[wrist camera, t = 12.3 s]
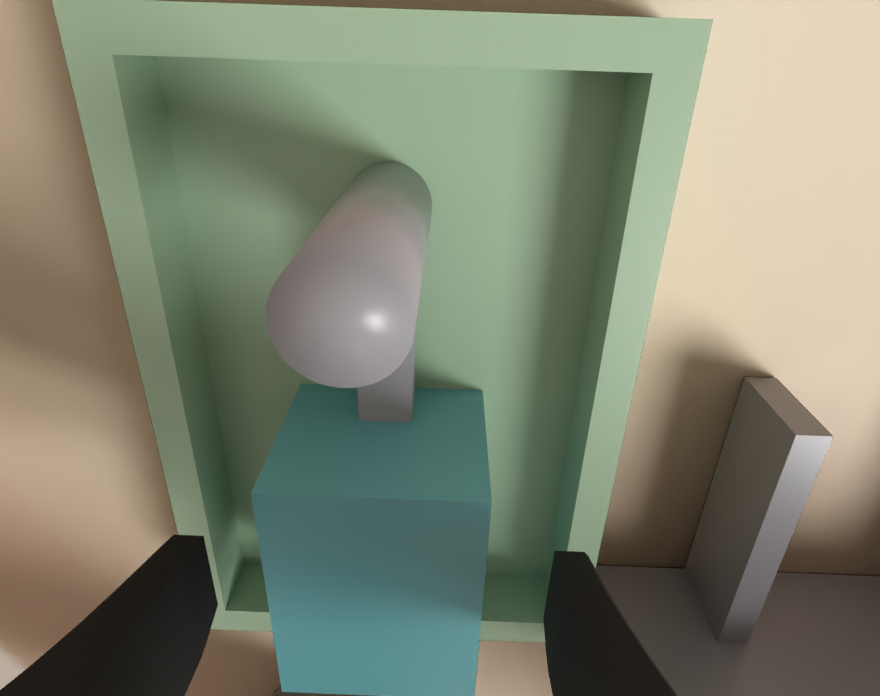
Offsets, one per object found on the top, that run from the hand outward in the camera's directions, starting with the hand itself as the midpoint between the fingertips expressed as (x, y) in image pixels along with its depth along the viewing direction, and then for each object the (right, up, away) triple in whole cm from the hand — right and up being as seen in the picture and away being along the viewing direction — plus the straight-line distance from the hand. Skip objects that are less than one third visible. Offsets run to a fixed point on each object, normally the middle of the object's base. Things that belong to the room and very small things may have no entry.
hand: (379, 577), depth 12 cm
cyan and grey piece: (0, +4, +2) cm, 4 cm away
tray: (0, +4, +3) cm, 5 cm away
